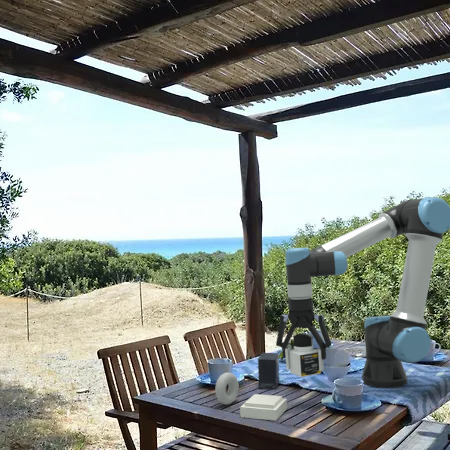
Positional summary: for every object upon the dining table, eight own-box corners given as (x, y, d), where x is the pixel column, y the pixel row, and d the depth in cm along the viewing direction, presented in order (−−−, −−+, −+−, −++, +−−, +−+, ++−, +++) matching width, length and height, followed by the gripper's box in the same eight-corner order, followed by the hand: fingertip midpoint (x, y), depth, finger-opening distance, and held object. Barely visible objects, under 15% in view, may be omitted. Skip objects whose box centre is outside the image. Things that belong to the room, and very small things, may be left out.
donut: (233, 399, 179) (232, 368, 179) (241, 400, 177) (240, 369, 177) (213, 407, 171) (212, 375, 171) (222, 409, 169) (220, 377, 169)
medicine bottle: (301, 377, 165) (298, 338, 165) (289, 372, 171) (287, 334, 171) (321, 373, 167) (318, 334, 168) (308, 369, 174) (306, 331, 174)
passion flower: (299, 373, 229) (315, 350, 228) (290, 374, 219) (307, 350, 218) (279, 355, 234) (294, 333, 233) (269, 356, 225) (285, 333, 224)
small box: (277, 389, 188) (275, 359, 188) (258, 389, 189) (257, 358, 189) (280, 381, 198) (278, 352, 198) (262, 381, 199) (261, 352, 200)
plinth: (287, 408, 167) (286, 395, 167) (276, 420, 156) (275, 406, 157) (253, 405, 171) (252, 392, 171) (240, 417, 161) (240, 403, 161)
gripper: (338, 295, 169) (343, 367, 168) (269, 296, 177) (274, 364, 177) (333, 298, 162) (338, 373, 161) (262, 299, 170) (267, 371, 170)
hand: (305, 369), depth 169 cm, fingers closed on medicine bottle, 10 cm apart
